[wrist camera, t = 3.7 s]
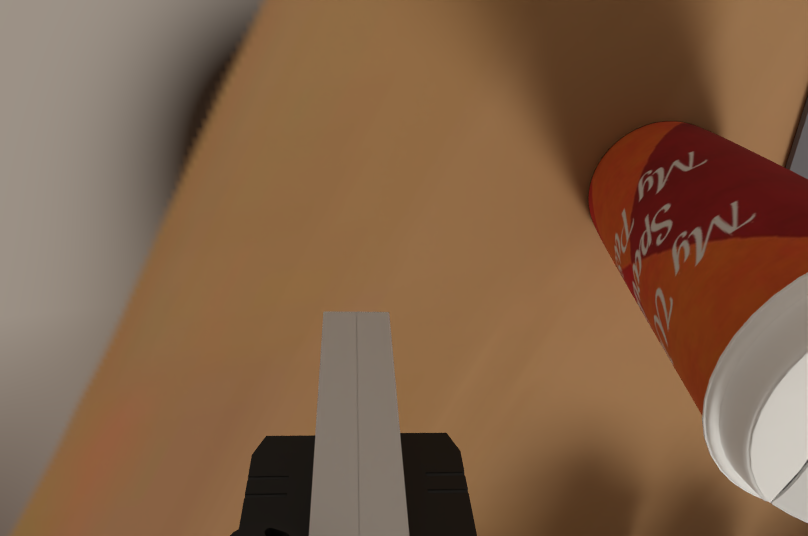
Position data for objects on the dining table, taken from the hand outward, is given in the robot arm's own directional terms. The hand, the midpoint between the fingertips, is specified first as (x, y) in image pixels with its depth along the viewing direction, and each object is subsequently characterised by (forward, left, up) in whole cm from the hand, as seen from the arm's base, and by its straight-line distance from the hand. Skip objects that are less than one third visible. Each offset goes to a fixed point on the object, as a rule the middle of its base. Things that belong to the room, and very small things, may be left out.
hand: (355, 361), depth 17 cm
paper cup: (+12, 0, -12) cm, 17 cm away
